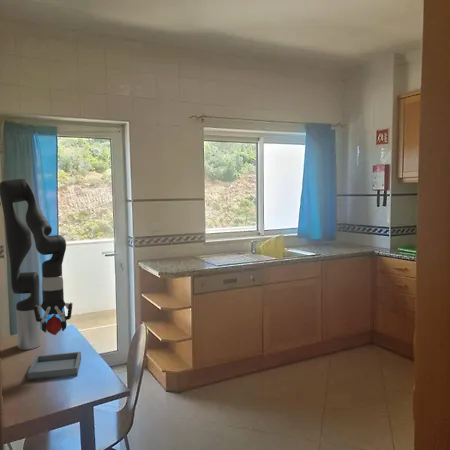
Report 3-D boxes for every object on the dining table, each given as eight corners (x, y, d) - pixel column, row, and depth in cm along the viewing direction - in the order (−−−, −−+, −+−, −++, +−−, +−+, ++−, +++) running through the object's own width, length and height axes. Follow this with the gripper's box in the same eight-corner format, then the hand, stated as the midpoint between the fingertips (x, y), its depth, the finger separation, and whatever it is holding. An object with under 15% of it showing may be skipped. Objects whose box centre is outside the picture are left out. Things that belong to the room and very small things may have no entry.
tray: (36, 363, 168) (36, 355, 167) (81, 358, 172) (80, 351, 172) (27, 381, 151) (27, 373, 151) (77, 375, 155) (77, 367, 155)
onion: (46, 338, 157) (46, 317, 156) (45, 334, 162) (44, 313, 161) (63, 335, 159) (62, 315, 159) (61, 331, 164) (61, 311, 164)
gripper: (73, 284, 165) (75, 326, 166) (34, 286, 161) (35, 329, 162) (71, 288, 158) (73, 332, 159) (30, 291, 154) (32, 335, 155)
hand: (54, 330), depth 160 cm, fingers closed on onion, 6 cm apart
